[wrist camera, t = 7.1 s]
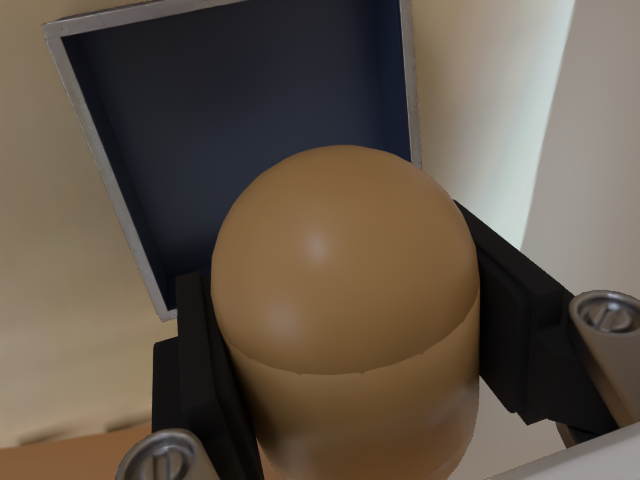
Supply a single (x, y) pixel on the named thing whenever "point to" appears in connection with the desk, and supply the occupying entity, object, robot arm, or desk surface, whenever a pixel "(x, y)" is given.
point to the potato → (351, 316)
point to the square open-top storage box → (227, 106)
